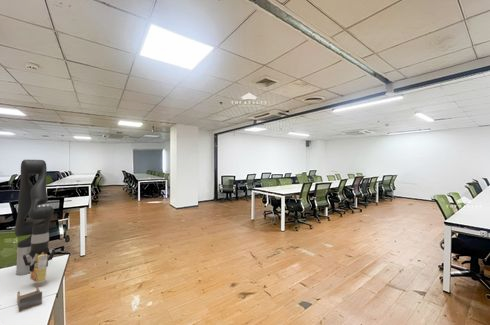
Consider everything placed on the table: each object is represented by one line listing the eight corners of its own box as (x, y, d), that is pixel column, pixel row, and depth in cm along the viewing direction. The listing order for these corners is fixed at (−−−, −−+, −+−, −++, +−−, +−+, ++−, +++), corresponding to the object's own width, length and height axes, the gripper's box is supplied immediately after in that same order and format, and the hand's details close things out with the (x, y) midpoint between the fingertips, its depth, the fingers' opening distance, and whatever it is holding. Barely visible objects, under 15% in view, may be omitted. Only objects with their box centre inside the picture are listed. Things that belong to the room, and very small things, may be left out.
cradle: (17, 298, 110) (17, 287, 110) (38, 292, 116) (38, 281, 116) (19, 311, 100) (19, 299, 100) (41, 304, 106) (42, 292, 106)
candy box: (29, 279, 122) (30, 253, 123) (39, 276, 126) (40, 250, 126) (37, 283, 119) (38, 256, 119) (46, 279, 123) (47, 253, 123)
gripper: (55, 236, 131) (53, 263, 130) (21, 242, 120) (20, 271, 119) (57, 239, 126) (56, 267, 126) (22, 245, 115) (21, 276, 115)
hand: (38, 269), depth 122 cm, fingers closed on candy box, 5 cm apart
